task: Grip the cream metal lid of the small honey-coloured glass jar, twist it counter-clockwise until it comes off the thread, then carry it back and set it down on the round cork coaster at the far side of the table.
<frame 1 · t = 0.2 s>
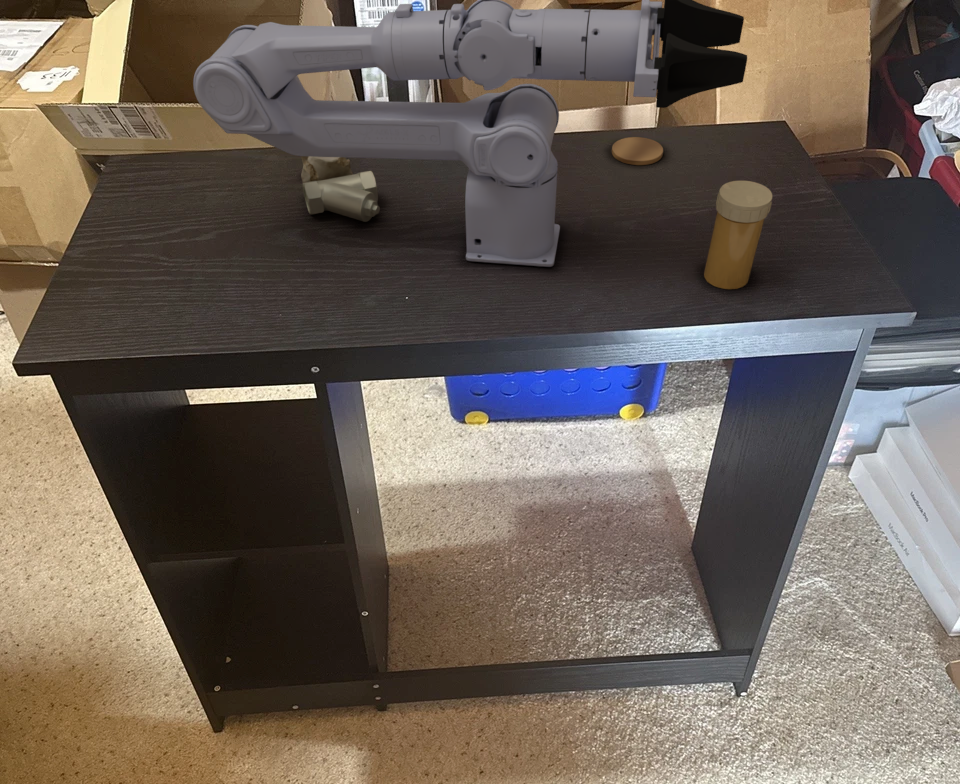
hand: (743, 48, 73), 21 cm above the table, tool horizontal, fingers open, 7 cm apart
pipe fitting: (346, 216, 97), on the table, touching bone
coaster: (637, 153, 105), on the table
jar: (726, 276, 87), on the table
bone: (326, 188, 101), on the table, touching pipe fitting
jar lid: (744, 197, 80), point 9 cm above the table, screwed on, not yet turned
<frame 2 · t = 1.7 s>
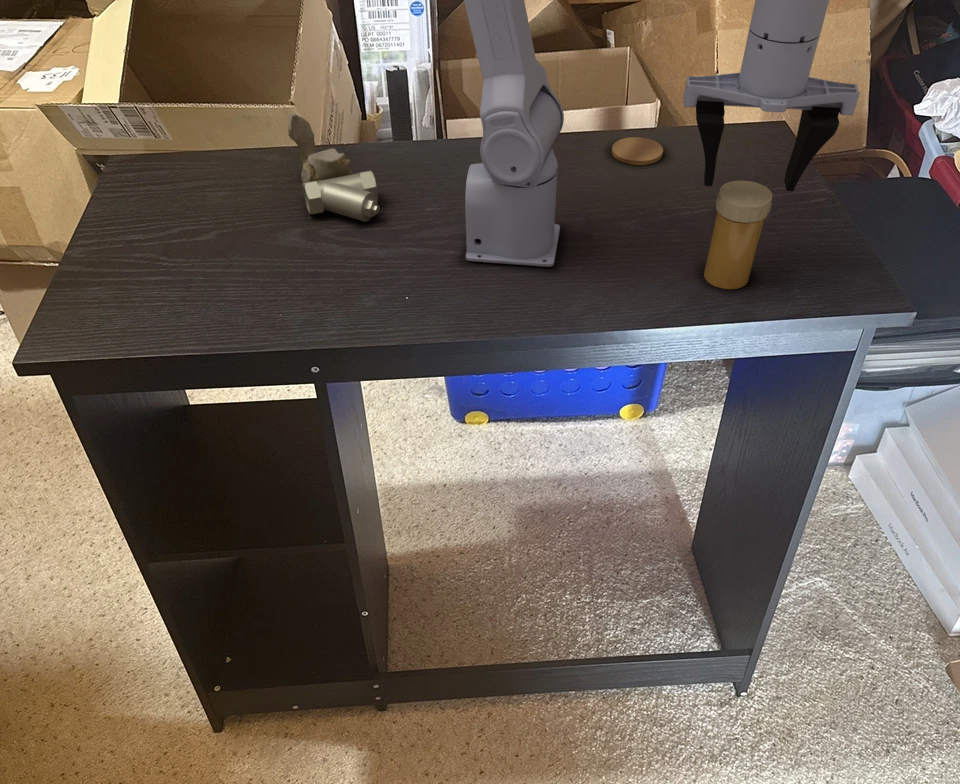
hand: (748, 183, 79), 10 cm above the table, tool pointing down, fingers open, 7 cm apart
nothing on the table moved.
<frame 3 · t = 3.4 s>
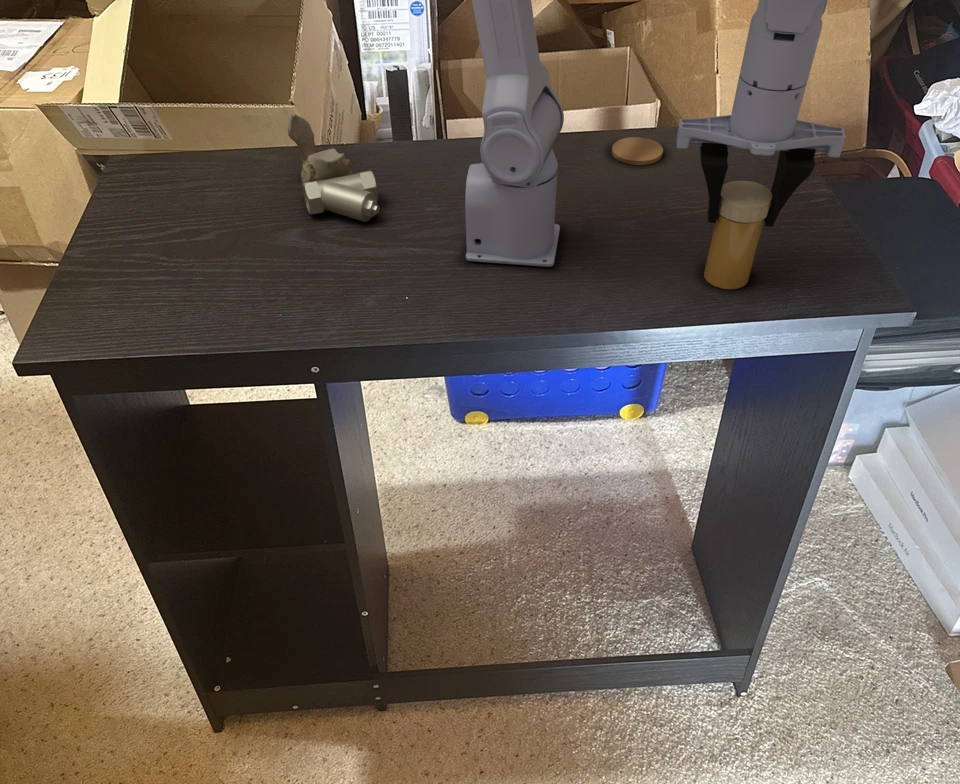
hand: (739, 219, 82), 7 cm above the table, tool pointing down, fingers closed on jar lid, 5 cm apart
jar lid: (745, 197, 80), point 9 cm above the table, screwed on, not yet turned, touching gripper
everything else where it was.
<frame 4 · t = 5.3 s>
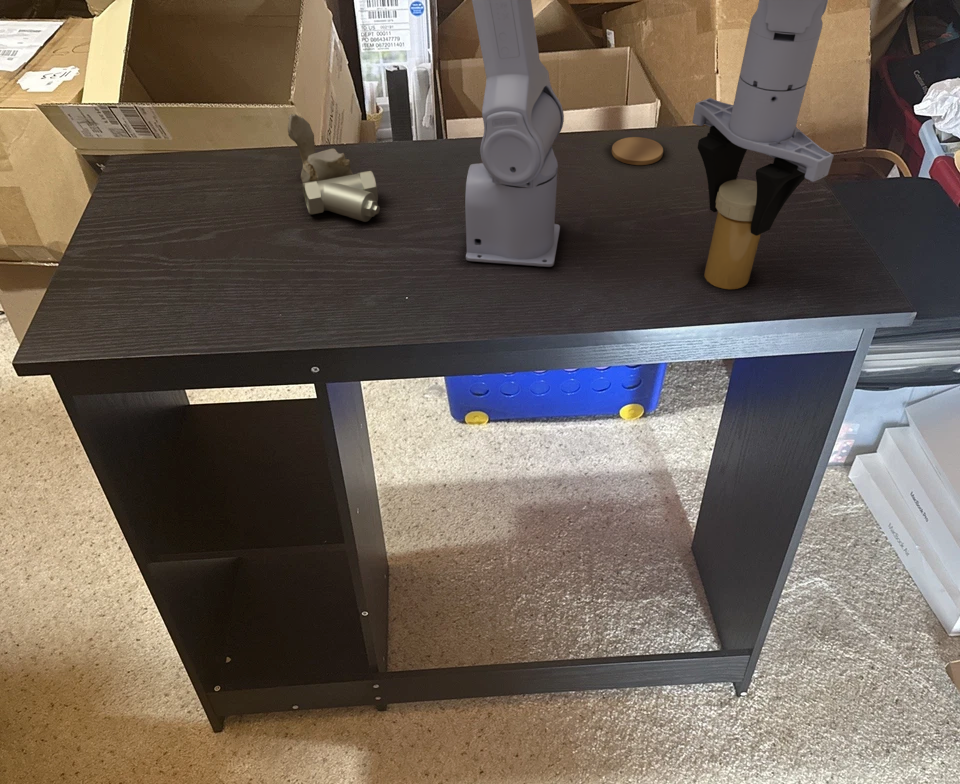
hand: (739, 219, 82), 7 cm above the table, tool pointing down, fingers closed on jar lid, 5 cm apart
jar: (726, 276, 87), on the table, touching gripper
jar lid: (744, 195, 80), point 9 cm above the table, off its thread, touching gripper
everything else where it was.
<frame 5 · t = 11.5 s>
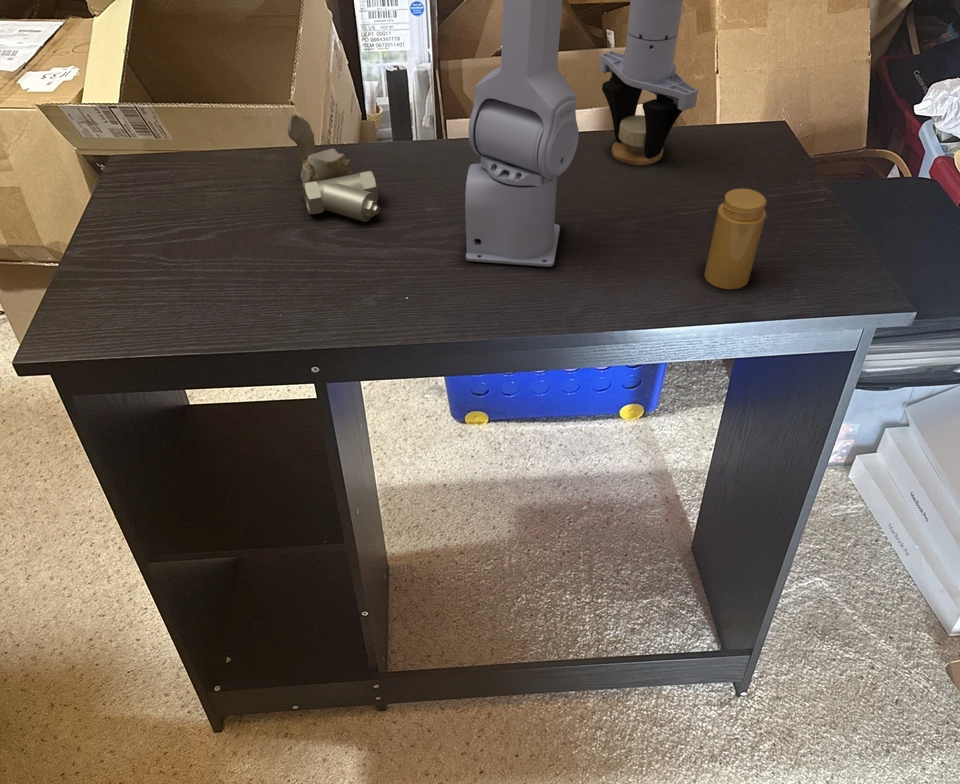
hand: (637, 147, 105), 1 cm above the table, tool pointing down, fingers closed on jar lid, 5 cm apart
jar: (726, 276, 87), on the table
jar lid: (640, 127, 103), point 3 cm above the table, off its thread, touching gripper
everything else where it was.
when the fingers open (1 cm above the table, at t = 16.4 s): jar lid drops 2 cm, resting on coaster.
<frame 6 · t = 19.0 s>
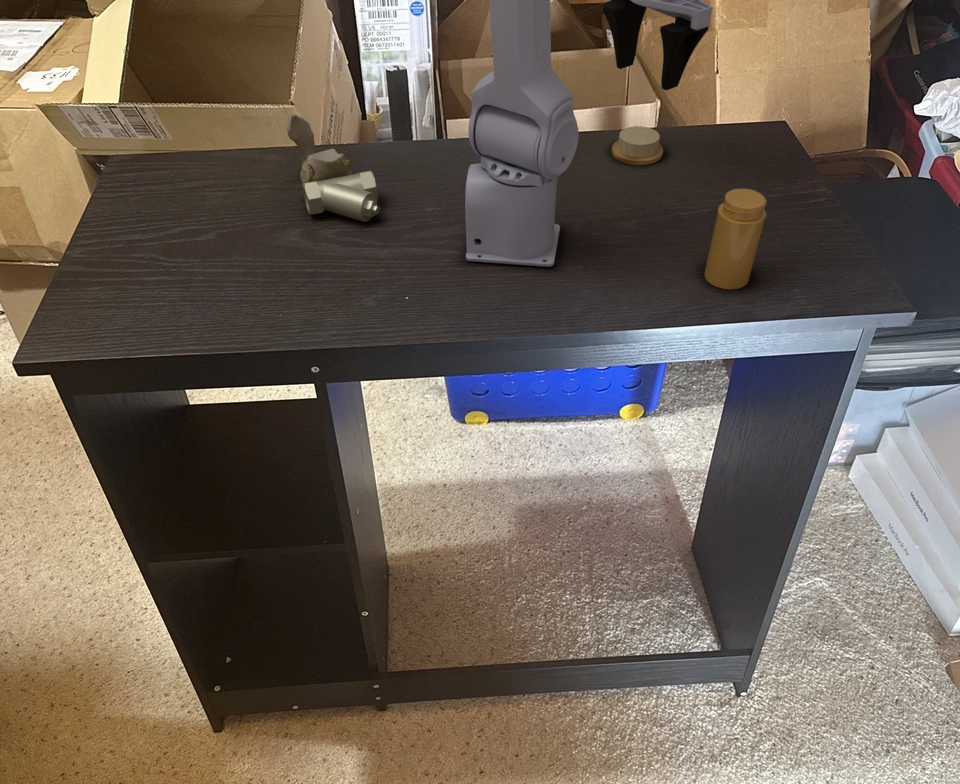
hand: (646, 76, 98), 9 cm above the table, tool pointing down, fingers open, 7 cm apart
jar lid: (639, 138, 104), point 2 cm above the table, off its thread, touching coaster
everything else where it was.
at the end: jar lid came off its thread; jar lid 0.0 cm off-centre on the coaster, point 1.9 cm above the coaster's base; the gripper is holding nothing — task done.
